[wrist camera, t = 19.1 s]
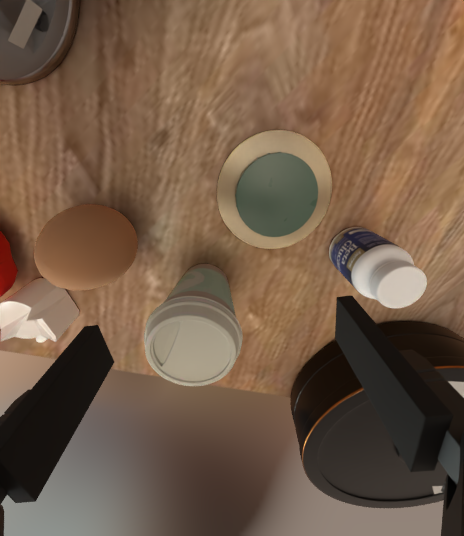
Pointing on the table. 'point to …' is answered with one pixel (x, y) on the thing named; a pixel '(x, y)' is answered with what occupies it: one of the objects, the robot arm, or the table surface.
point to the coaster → (249, 152)
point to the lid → (276, 194)
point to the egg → (85, 247)
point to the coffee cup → (194, 329)
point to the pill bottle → (377, 267)
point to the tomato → (6, 266)
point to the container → (366, 424)
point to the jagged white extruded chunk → (37, 312)
